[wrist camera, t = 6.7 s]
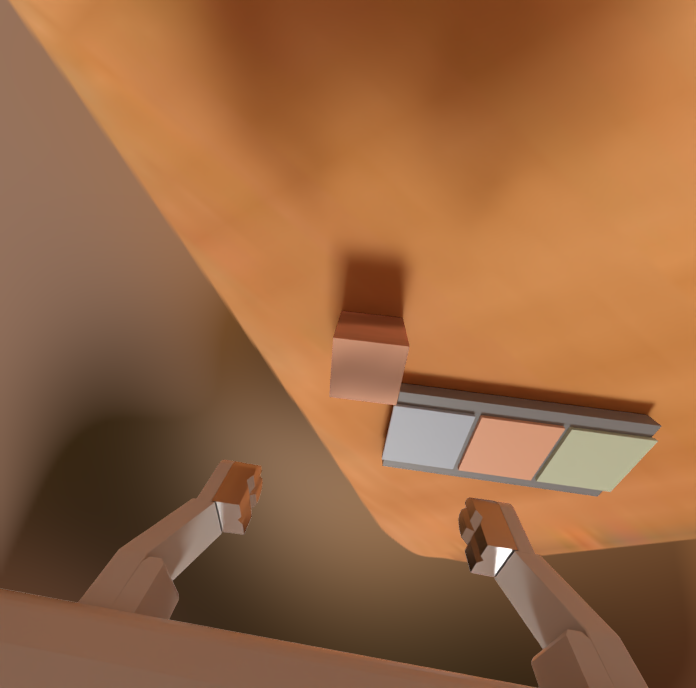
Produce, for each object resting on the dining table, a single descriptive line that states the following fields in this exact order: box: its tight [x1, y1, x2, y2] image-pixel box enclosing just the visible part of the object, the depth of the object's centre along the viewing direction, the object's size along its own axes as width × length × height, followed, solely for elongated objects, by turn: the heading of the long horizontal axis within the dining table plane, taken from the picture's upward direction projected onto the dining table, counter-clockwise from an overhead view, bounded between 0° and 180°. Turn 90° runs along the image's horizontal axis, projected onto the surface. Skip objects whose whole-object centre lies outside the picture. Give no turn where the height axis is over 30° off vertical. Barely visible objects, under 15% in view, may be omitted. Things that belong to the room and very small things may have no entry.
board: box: [382, 383, 661, 496], centre depth 23 cm, size 9×20×2 cm, turn 85°
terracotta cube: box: [329, 311, 409, 405], centre depth 18 cm, size 4×4×4 cm
